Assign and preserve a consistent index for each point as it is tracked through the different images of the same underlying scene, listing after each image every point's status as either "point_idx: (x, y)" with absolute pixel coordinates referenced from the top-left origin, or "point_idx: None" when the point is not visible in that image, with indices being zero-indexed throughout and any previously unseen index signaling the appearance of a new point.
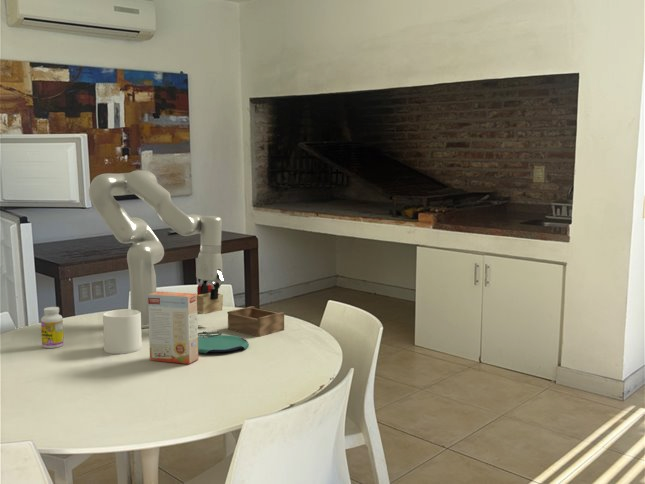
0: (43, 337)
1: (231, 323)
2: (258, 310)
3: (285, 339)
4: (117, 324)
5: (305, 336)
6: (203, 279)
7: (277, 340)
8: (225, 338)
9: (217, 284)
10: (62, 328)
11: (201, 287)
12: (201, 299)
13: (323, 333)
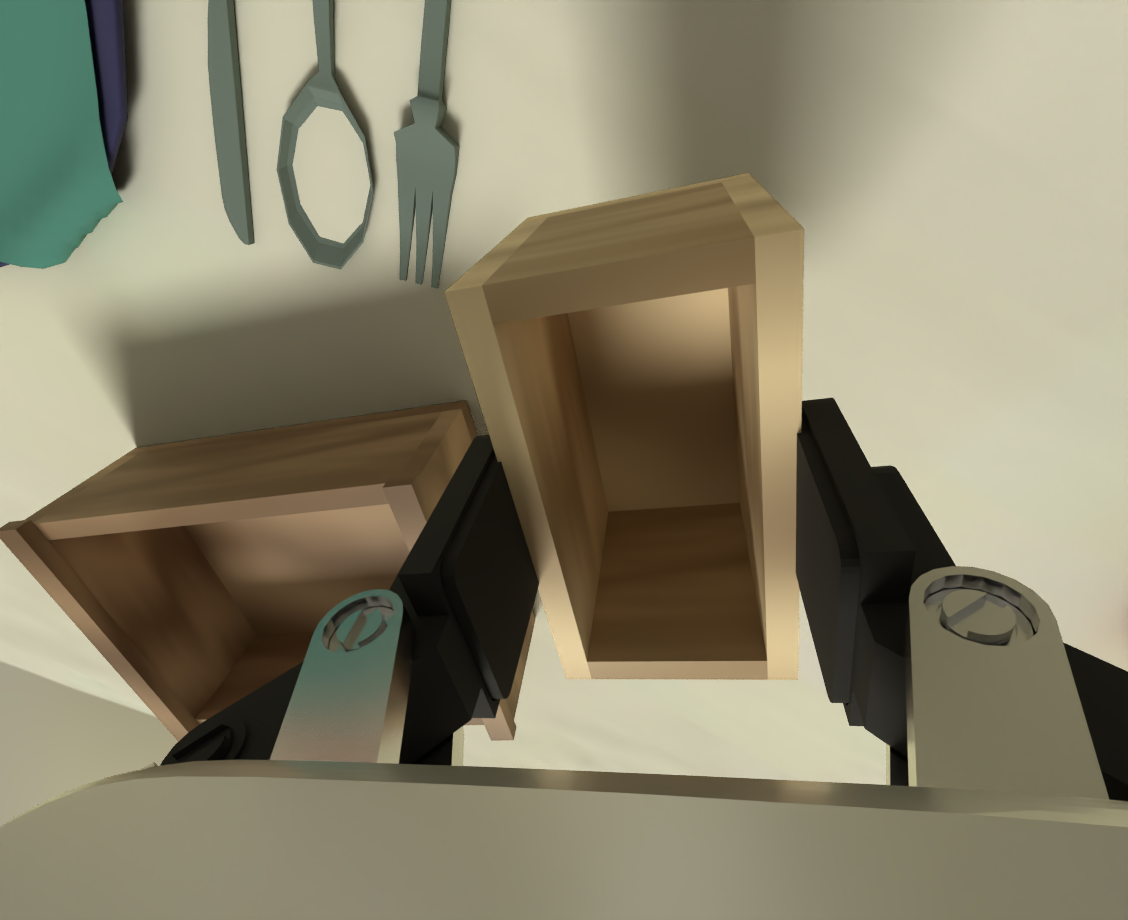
0: None
1: (402, 434)
2: None
3: (24, 518)
4: None
5: (72, 621)
6: (623, 784)
7: (7, 472)
8: (48, 151)
9: (180, 744)
10: None
11: (858, 536)
12: (546, 257)
13: (114, 700)
